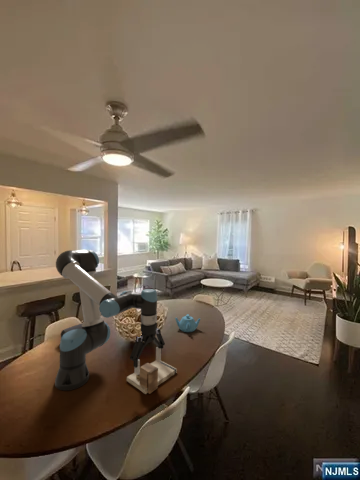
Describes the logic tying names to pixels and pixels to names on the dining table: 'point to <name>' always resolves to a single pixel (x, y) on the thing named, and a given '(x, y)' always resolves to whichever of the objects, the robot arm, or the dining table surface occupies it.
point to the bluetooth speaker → (71, 329)
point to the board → (163, 374)
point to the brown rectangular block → (148, 377)
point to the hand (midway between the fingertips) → (148, 367)
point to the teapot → (187, 323)
